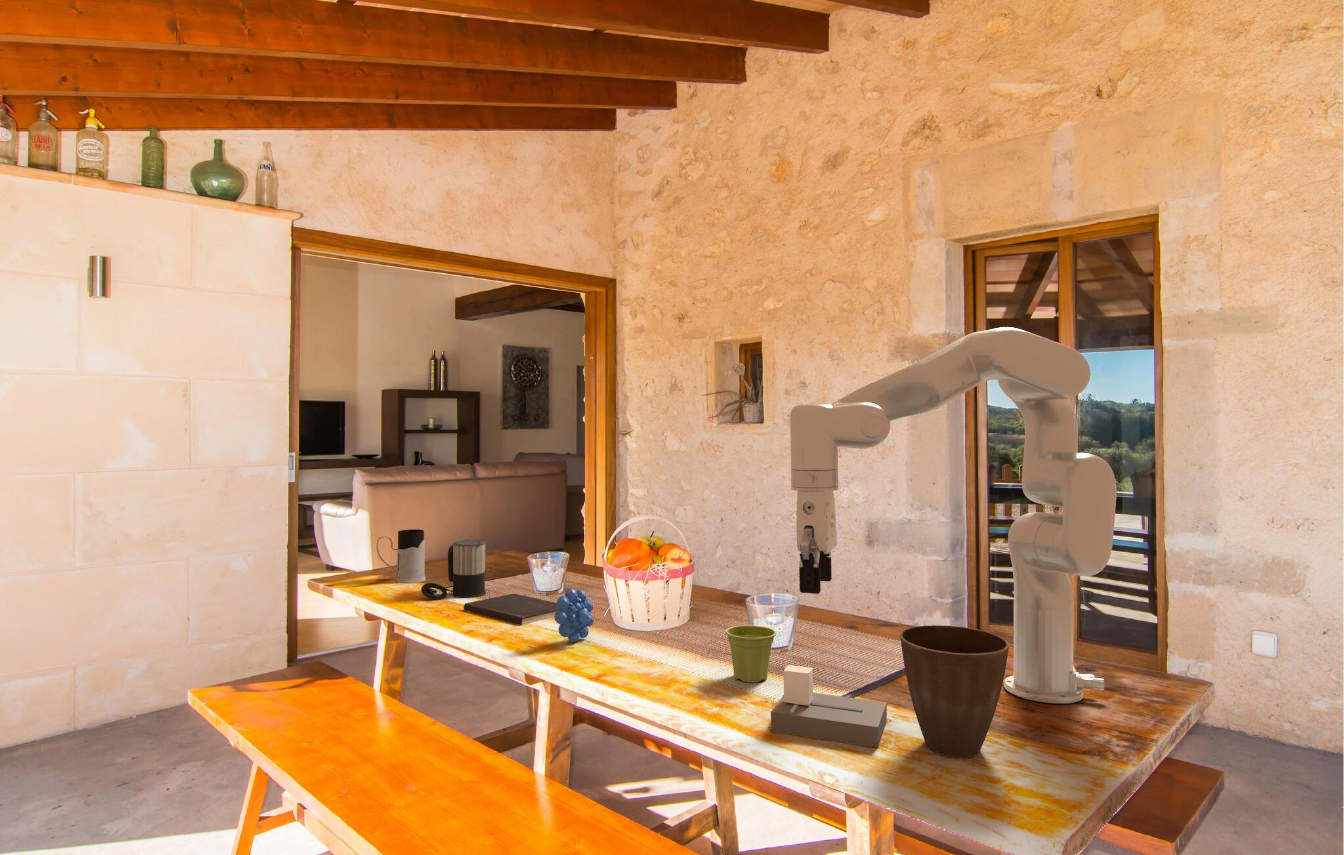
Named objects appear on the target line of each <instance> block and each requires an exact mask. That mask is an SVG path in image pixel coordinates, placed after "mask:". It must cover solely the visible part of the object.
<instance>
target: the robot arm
mask: <svg viewBox="0 0 1344 855" xmlns="http://www.w3.org/2000/svg"><path fill="white" fill-rule="evenodd" d="M993 380H994V381H995V380H997V383H998V385H999V388H1000V389H1001V390H1002V392H1003V393H1004V394H1005V396H1007V397H1008V398H1009V399H1010V400H1011V401H1012V402H1013V403H1014V404H1015V406H1016V407H1017V409H1018V410H1019V412H1020V414H1021V416H1022V419H1023V422H1024V443H1023V444H1024V446H1023V447H1024V448H1023V457H1022V458H1023V459H1022V469H1021V470H1022V472H1021V488H1022V491H1023V494H1024V496H1025V497H1026V498H1027V499H1028V500H1029V501H1032V502H1034V503H1037V504H1040V505H1045V506H1050V507H1057V508H1063V509H1062V514H1057V513H1049V512H1039V511H1034V512H1029V513H1024V514H1022V515H1021V516H1020V515H1019V517H1017V518H1016V519H1015V520H1014V521H1013V522H1012V523H1011V526H1010V528H1009V530H1008V535H1007V536H1008V537H1007V539H1008V540H1007V544H1008V551H1009V557H1010V561H1011V566H1012V573H1013V675H1010V676H1007V677H1006V678H1004V680H1003V686H1004V688H1005V690H1006V691H1007V692H1009V693H1010V694H1012V695H1015V697H1019V698H1022V699H1025V700H1030V701H1034V702H1037V703H1039V702H1040V703H1046V704H1055V705H1056V704H1059V705H1060V704H1061V705H1062V704H1063V705H1065V704H1074V703H1077V702H1079V701H1081V700H1082V699H1083V698H1084V688H1085V689H1091V690H1097V691H1105V680H1104V678H1099V677H1095V675H1093V674H1083V673H1082V674H1081V673H1080V674H1079V672H1077V670H1076V668H1075V666H1074V665H1075V664H1074V607H1075V603H1074V600H1075V599H1074V598H1075V597H1074V589H1073V586H1072V582H1071V579H1070V577H1069V575H1072V576H1079V577H1092V576H1095V575H1097V574H1098V573H1100V572H1102V571H1103V570H1104V569H1105V568H1106V567H1107V564H1108V563H1109V560H1110V558H1111V555H1112V550H1113V542H1114V531H1115V530H1114V529H1115V518H1116V507H1117V482H1116V477H1115V474H1114V471H1113V469H1112V466H1110V465H1109V463H1108V462H1107V461H1106V460H1105V459H1103V458H1101V457H1100V456H1098V455H1095V454H1091V453H1088V452H1087V453H1086V452H1085V453H1084V452H1079V448H1078V447H1079V422H1078V418H1077V415H1076V412H1075V411H1074V408H1073V407H1072V405H1071V404H1070V401H1069V400H1068V399H1070V398H1074V397H1077V396H1078V395H1079V394H1081V393H1082V392H1083V391H1084V390H1085V389H1086V388H1087V386H1088V385H1089V382H1090V380H1091V367H1090V364H1089V362H1088V360H1087V359H1086V357H1085V356H1084V355H1083V354H1082V353H1081V352H1080V351H1079V350H1077V349H1076V348H1074V347H1071V346H1069V345H1066V344H1063V343H1060V342H1057V341H1054V340H1052V339H1049V338H1047V337H1044V336H1040V335H1038V334H1035V333H1032V332H1029V331H1026V330H1023V329H1019V328H1015V327H1008V326H1007V327H1005V326H1003V327H997V328H991V329H988V330H981V331H976V332H972V333H968V334H967V335H964V336H962V337H960V338H958V339H956V340H955V341H953V342H950V343H949V344H947V345H945V346H944V347H942V348H940V349H938V350H937V351H935V352H932V353H930V354H929V355H928V356H925V357H924V358H922V359H920V360H918V361H916V362H914V363H913V364H911V365H908V366H906V367H904V368H902V369H899V370H897V371H895V372H893V373H891V374H889V375H887V376H885V377H882V378H880V379H878V380H876V381H874V382H871V383H868V384H866V385H864V386H862V387H860V388H857V389H856V390H854V391H852V392H850V393H848V394H847V395H845V396H843V397H842V398H838V399H837V400H836V401H834V402H833V403H830V404H827V403H810V404H809V403H807V404H797V405H795V406H793V407H792V408H791V410H790V416H789V417H790V418H789V424H790V426H789V427H790V428H789V429H790V487H791V488H790V490H792V491H796V547H797V550H798V551H799V552H800V553H799V564H798V565H799V567H798V571H799V572H798V575H799V577H798V578H799V584H798V585H799V592H800V593H801V594H813V595H814V594H815V595H818V594H820V593H822V592H821V589H822V588H821V585H822V584H821V582H831V581H832V578H833V576H832V573H833V572H832V557H831V555H832V552H831V551H833V549H834V548H836V547H837V544H838V535H837V532H838V531H837V516H836V515H837V514H836V503H835V494H834V493H835V491H838V490H839V448H846V449H847V448H851V449H861V450H862V449H864V450H865V449H871V448H875V447H878V445H881V444H882V443H883V442H884V441H885V440H887V438H888V436H889V433H890V430H891V421H895V420H898V419H902V418H907V417H912V416H917V415H922V414H925V413H928V412H932V411H934V410H937V409H940V408H941V407H943V406H944V405H946V404H948V403H950V402H951V401H953V400H955V399H956V398H959V397H961V396H962V395H964V394H965V393H967V392H969V391H971V390H973V389H974V388H976V387H978V386H979V385H981V384H983V383H986V382H989V381H993Z"/></svg>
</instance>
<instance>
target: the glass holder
mask: <svg viewBox="0 0 1344 855" xmlns="http://www.w3.org/2000/svg"><path fill="white" fill-rule="evenodd" d="M383 538H387V539H388V540H389V542H390V548H391V549H392V550H393V551H397V552H396V553H397V554H396V558H397V560H396V561H397V563H396V565H397V566H396V568H397V569H395V568H394V567H393V566H391V565H389V564H388V562H386V561H385V560H384V559H383V557H382V556H381V553H380V551H379V546H378V545H379V540H381V539H383ZM425 539H426V538H425V530H424V529H419V528H418V529H416V528H413V529H401V530H398V531H397V548H393V541H392V539H391V538H390V537H389V536H387V535H382V536H380V537H379V538H377V541H376V546H375V547H376V552H377V555H378V557H379V559H380V561H381V562H383V564H385V565H386V566H387V567H389V568H390V569H391V570H393V572H395V576H397V577H396V580H395V582H396V583H397V584H398V583H399V584H416V583H421V582H425V581H427V579H426V578H427V577H426V575H425V572H426V571H425V570H426V569H425V568H426V567H425V566H426V565H425V559H426V558H425V554H426V553H425V550H426V546H425V544H426V543H425V542H426V540H425Z"/></svg>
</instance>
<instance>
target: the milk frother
mask: <svg viewBox="0 0 1344 855" xmlns="http://www.w3.org/2000/svg"><path fill="white" fill-rule="evenodd" d="M486 543H487V541H486V540H483V539H458V540H454V541H452V543H451V545H450V546H449V548H448V550H447V570H448V574H447V575H448V581H449V582H450V583H452V590H450V589H448V588H446V587H445V586H443V585H440V584H437V583H435V582H434V583H432V582H427V583H424V584H423V585H422V586H421V589H420V593H421V595H423V596H425V597H426V598H428V599H429V600H432V599H435V600H436V599H439V600H440V599H444V598H446V596H447V595H448V592H451V595H452V596H454V597H456V598H477V597H478V598H479V597H481V596H484V595H485V594H486V593H487V592H486V588H485V587H486V585H485V584H486V582H485V581H486V580H485V579H486V578H485V577H486V576H485V575H486V574H485V573H486V572H485V570H486ZM436 589H437V590H436ZM438 590H439V591H440V592H441V593H440V594H437V592H438Z"/></svg>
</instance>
